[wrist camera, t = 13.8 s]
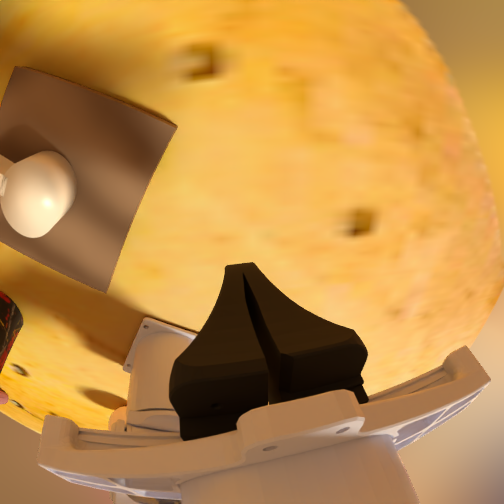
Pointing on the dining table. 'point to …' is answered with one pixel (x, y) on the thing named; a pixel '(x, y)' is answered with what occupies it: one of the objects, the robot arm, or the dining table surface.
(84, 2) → the dining table surface
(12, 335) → the deodorant
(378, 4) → the dining table surface
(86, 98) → the flat rectangular base
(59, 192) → the white joystick lever
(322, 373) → the robot arm
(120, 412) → the egg
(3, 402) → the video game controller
